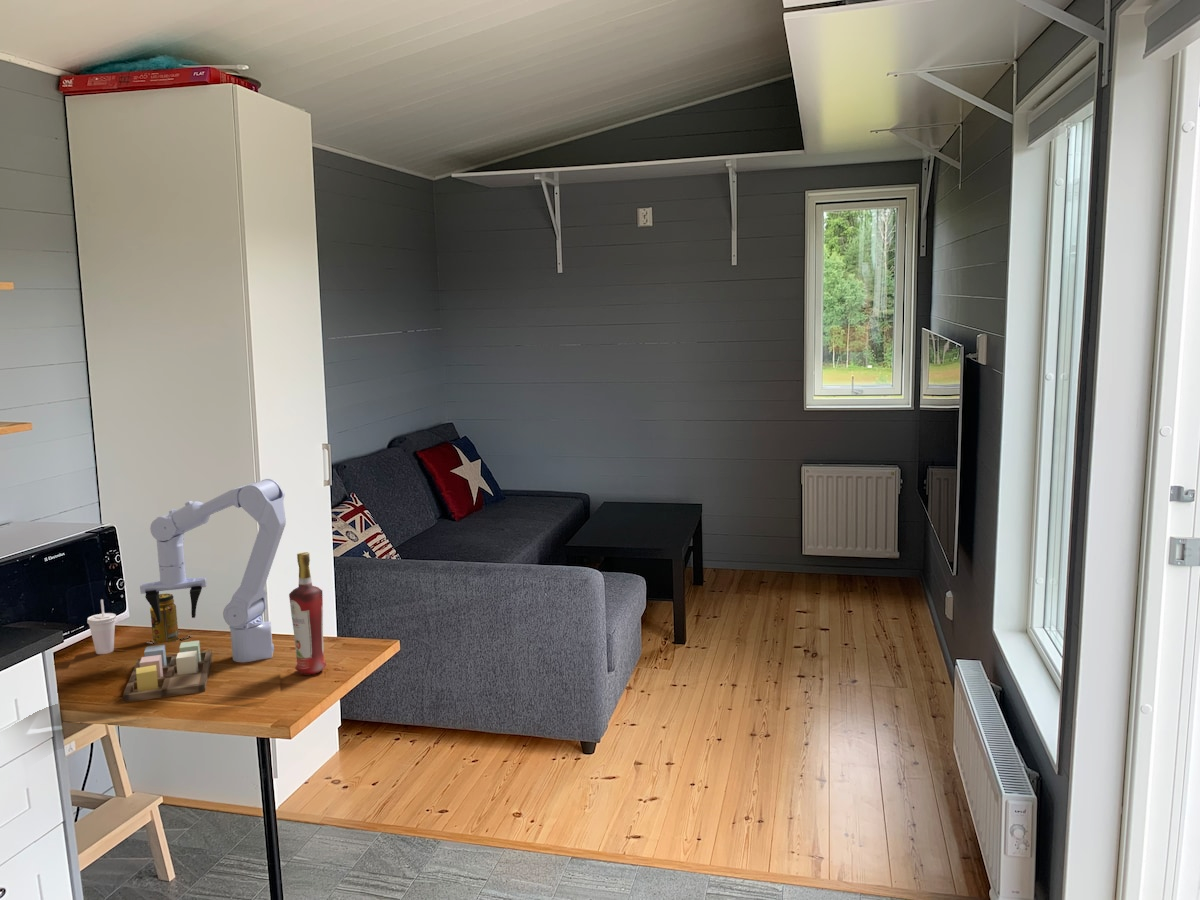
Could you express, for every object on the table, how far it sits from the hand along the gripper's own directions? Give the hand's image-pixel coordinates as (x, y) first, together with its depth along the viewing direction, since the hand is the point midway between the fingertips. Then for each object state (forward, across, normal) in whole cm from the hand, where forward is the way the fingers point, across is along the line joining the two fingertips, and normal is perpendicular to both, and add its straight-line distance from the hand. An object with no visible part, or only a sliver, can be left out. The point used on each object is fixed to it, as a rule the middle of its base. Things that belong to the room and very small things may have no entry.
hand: (176, 618), depth 230 cm
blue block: (+9, +4, +8) cm, 13 cm away
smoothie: (+10, +18, -10) cm, 23 cm away
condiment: (+10, +4, -16) cm, 19 cm away
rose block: (+9, +4, +16) cm, 19 cm away
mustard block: (+9, +4, +23) cm, 25 cm away
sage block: (+9, -3, +8) cm, 13 cm away
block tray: (+10, 0, +16) cm, 19 cm away
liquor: (+10, -30, +22) cm, 39 cm away
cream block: (+9, -3, +16) cm, 19 cm away
